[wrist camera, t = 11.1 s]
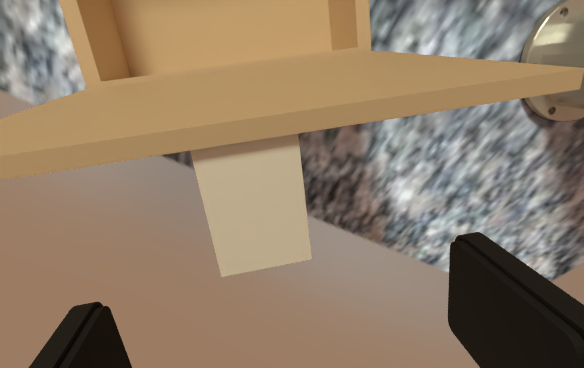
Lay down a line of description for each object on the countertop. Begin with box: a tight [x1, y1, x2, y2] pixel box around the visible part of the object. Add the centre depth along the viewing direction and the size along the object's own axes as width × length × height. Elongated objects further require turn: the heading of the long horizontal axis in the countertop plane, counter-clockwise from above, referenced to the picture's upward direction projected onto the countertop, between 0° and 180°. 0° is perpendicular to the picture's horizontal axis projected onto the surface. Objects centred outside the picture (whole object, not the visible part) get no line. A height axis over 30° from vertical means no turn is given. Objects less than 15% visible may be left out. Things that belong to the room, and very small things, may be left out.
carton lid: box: [0, 51, 584, 277], centre depth 17 cm, size 20×16×5 cm
